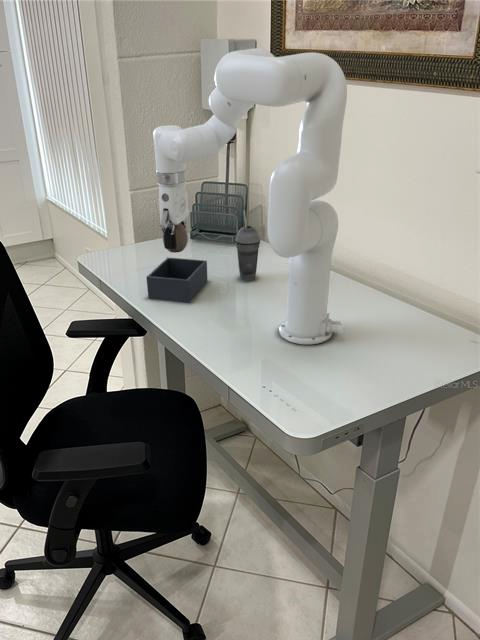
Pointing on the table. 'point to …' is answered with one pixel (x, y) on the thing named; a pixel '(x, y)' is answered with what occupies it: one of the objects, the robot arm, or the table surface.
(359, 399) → the table surface
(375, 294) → the table surface
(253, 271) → the beverage cup
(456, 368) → the table surface
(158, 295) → the dark grey open box
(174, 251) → the vase
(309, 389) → the table surface
